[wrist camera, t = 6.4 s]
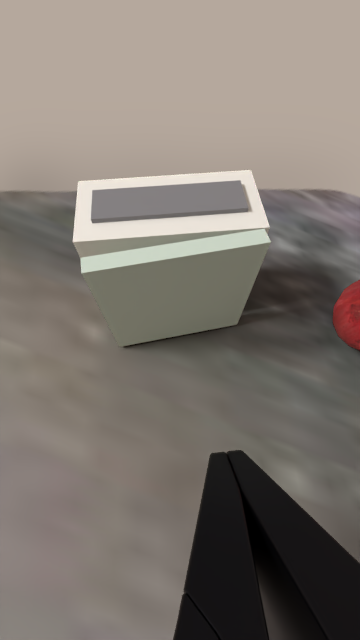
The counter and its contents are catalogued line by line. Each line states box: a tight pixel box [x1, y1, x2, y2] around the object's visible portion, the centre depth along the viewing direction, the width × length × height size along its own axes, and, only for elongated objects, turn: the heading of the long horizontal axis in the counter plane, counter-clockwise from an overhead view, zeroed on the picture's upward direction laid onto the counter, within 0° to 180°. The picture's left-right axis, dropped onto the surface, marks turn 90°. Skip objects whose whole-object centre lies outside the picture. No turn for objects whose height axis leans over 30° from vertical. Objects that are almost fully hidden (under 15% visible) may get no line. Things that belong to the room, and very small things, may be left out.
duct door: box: [81, 229, 271, 347], centre depth 19 cm, size 1×10×10 cm, turn 101°
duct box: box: [73, 170, 270, 258], centre depth 21 cm, size 5×11×10 cm, turn 96°
